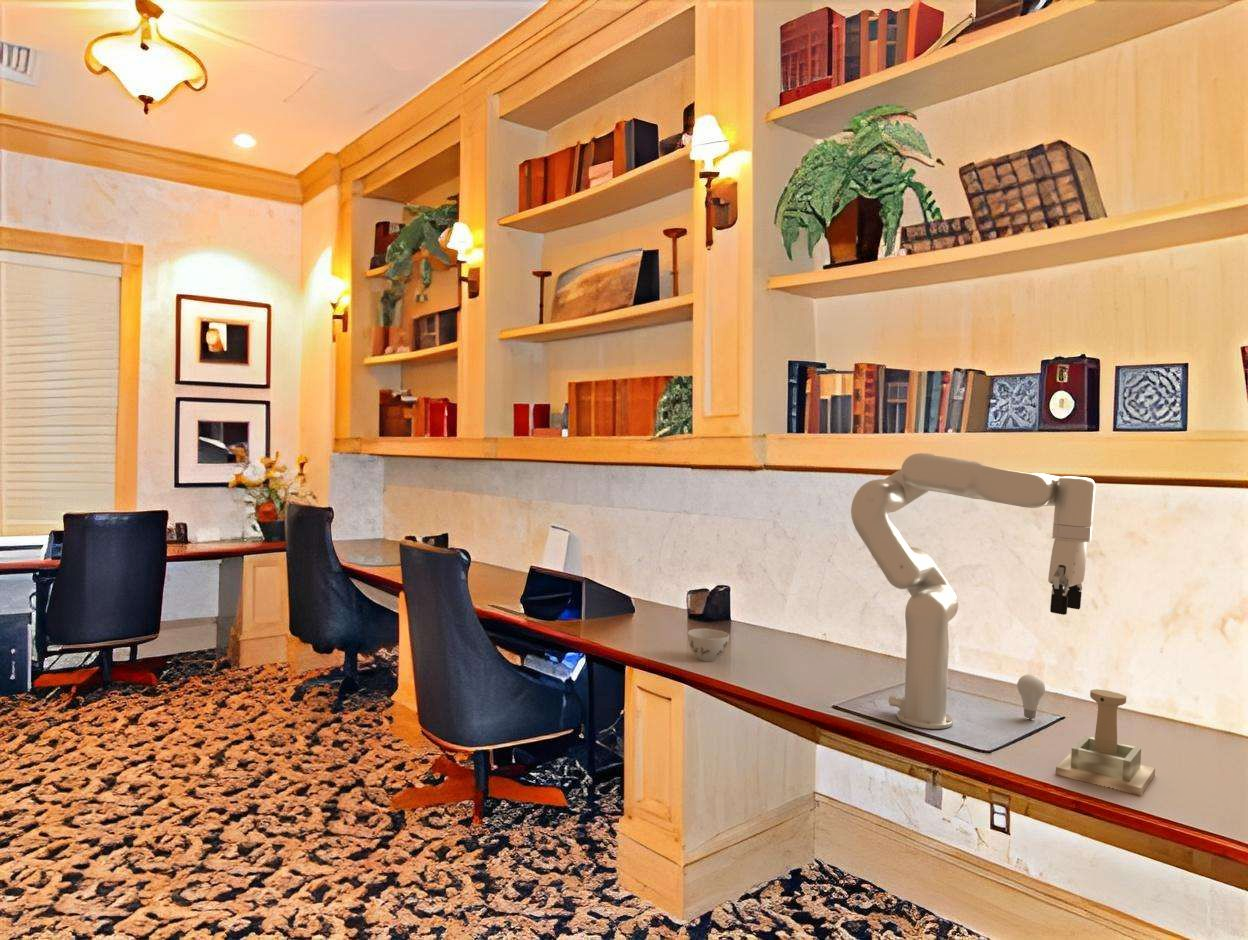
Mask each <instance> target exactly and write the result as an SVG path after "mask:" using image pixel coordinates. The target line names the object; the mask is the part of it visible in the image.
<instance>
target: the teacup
mask: <svg viewBox="0 0 1248 940" xmlns="http://www.w3.org/2000/svg"><path fill="white" fill-rule="evenodd" d="M687 638H688V644H689V646H690V647H689V648H690V650H691V651H692V653H693V654H694V656H695V657H696V658H697V659H698V660H700V661H703V662H715V661H717V660H718V659H719V658H720V657H721V656H723V654H725V651H726V649H727V647H728V645H729V642H730V634H729V633H727V632H726V631H724V630H717V629H712V628H694V629H690V630H688V632H687Z"/></svg>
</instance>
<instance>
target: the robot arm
mask: <svg viewBox="0 0 1248 940" xmlns="http://www.w3.org/2000/svg"><path fill="white" fill-rule="evenodd" d="M928 492H935V493H942V494H947V495H953V496H957V497H963V498H969V499H972V500H982V501H988V502H992V503H997V504H1003V505H1010V506H1013V507H1014V506H1015V507H1021V508H1025V509H1026V508H1027V509H1037V508H1041V507H1054V510H1053V511H1054V512H1053V523H1052V525H1053V526H1052V536H1051V538H1052V539H1054V540H1053V544H1052V550H1051V556H1050V564H1049V568H1048V569H1049V571H1048V577H1047V582H1048V583H1049V584H1051V592H1050V593H1051V595H1050V596H1051V597H1050V606H1049V607H1050V608H1049V609H1050V610H1049V612H1050V613H1052V614H1058V615H1067V613H1068V609H1074V610H1081V604H1082V603H1081V601H1082V595H1083V594H1082V590H1083V585H1082V584H1083V583H1084V579H1085V574H1086V573H1085V572H1086V564H1087V563H1086V561H1087V560H1086V559H1087V543H1091V542H1092V534H1093V533H1092V531H1093V521H1094V520H1093V519H1094V517H1093V516H1094V508H1095V506H1094V505H1095V496H1096V495H1095V494H1096V483H1095V481H1094V480H1093V479H1092V478H1089V477H1082V476H1068V475H1067V476H1066V475H1065V476H1058V475H1052V474H1047V473H1041V472H1034V473H1030V472H1029V473H1028V472H1022V471H1017V470H1009V469H1003V468H998V467H993V466H989V465H986V464H983V463H982V462H978V461H975V460H967V459H961V458H954V457H947V456H940V455H935V454H933V453H924V452H923V453H922V452H921V453H920V452H919V453H913V454H911V455H909V456H907V457H906V458H905V460H903V463H902V464H901V468H899V470H897V471H895V472H893V473H892V474H891V475H889V476H887V477H886V478H884V479H883V478H882V479H872V480H869V481H867V482H866V483H864V484H862V486H860V487H859V489H858V490H857V491H856V493H855V495H854V496H853V499H852V501H851V508H850V515H851V520H852V523H853V527H854V528H855V530H856V532H857V534H858V536H859V537H860V538H861V540H862V542H863V544H864V545H865V546H866V548H867V549H868V551H869V553H870V555H871V556H872V558H873V559H874V561H875V562H876V564H877V566H878V567H879V568H880V570H881V571H882V573H883V575H884V577H885V578H886V580H887V582H888V583H889V584H891V586H893V587H894V588H896V589H900V590H907V592H908V593H909V595H910V597H909V599H908V601H907V603H906V606H905V610H904V611H905V612H904V616H905V618H904V619H905V631H906V634H905V635H906V636H905V637H906V640H905V641H906V643H905V647H906V649H905V671H904V672H905V673H904V674H905V677H904V696H903V697H902V698H901V697H898V696H896V695H889V697H888V704H889V706H891V707H896V708H898V709H899V710H898V711H897V713H896V717H897V720H898V721H900V722H902V723H904V724H906V725H909V726H913V727H917V728H922V729H929V730H930V729H932V730H939V729H940V730H942V729H947V728H950V727H952V726H953V724H954V719H953V717H951V715H949V714H947V702H948V701H947V697H948V678H949V677H948V675H949V673H948V672H949V650H950V649H949V647H950V646H949V640H950V639H949V629H948V628H949V622H950V621H952V619H954V617H955V616H956V615H957V613H958V610H959V600H958V597H957V595H956V593H955V591H954V590H953V588H952V587H951V585H950V584H949V582H948V581H947V579H946V577H945V576H944V575H943V573H942V572H941V570H940V569H939V567H938V566H937V564H936V563H935V562H934V560H933V558H931V556H930V555H929V554H928V553H927V552H925V551H924V550H923V549H921V548H919V547H912V546H910V545H909V544H908V543H907V541H906V540H905V539H904V537H903V536H902V534H901V532H900V530H899V529H898V528H897V527H896V526H895V524H893V523H892V521H891V520H890V519H889V515H888V514H890V513H893V512H897V511H899V510H901V509H903V508H905V507H906V506H907V505H910V504H911V503H913V502H914V501H916V500H917V499H919V498H921V497H922V496H924V495H925V494H927V493H928Z"/></svg>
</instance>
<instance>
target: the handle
mask: <svg viewBox="0 0 1248 940" xmlns="http://www.w3.org/2000/svg"><path fill="white" fill-rule="evenodd" d="M1089 691H1090V693H1089V698H1091V699H1092V700H1093V701H1095V702H1096V703H1097V714H1096V715H1097V716H1096V717H1097V718H1096V725H1095V733H1094V738H1095V752H1099V753H1103V754H1108V755H1112V756H1116V750H1117V743H1118V726H1117V725H1118V708H1119V707H1120V706H1123V705H1125V704H1126V703H1127V695H1125V694H1121V693H1119V692H1115V691H1110V690H1105V689H1097V688H1096V689H1095V688H1094V689H1091V690H1089Z"/></svg>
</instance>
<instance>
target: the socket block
mask: <svg viewBox="0 0 1248 940" xmlns="http://www.w3.org/2000/svg"><path fill="white" fill-rule="evenodd" d="M1141 761H1142V747H1138V746H1134V745H1129V744H1124V743H1120V742H1117V750H1116V756H1112V755H1108V754H1103V753H1099V752H1095V737H1093V736H1088V735H1084V736H1082V737H1081V738H1080V739H1079V741H1077V742H1076V743H1075V744H1074V745H1073V746H1071V752H1070V753H1068V755H1067V756H1065V757H1064V758H1063V760H1062V761H1060V763H1058V764H1057V765H1056V766H1055V775H1058V776H1061V777H1065V778H1069V779H1073V780H1076V781H1081V782H1085V783H1088V784H1092V785H1096V784H1097V785H1096V786H1100V785H1101V786H1100V787H1104V786H1105V787H1104V788H1108V787H1110V788H1109V789H1112V788H1114V789H1113V790H1116V789H1118V790H1117V791H1120V790H1123V791H1122V792H1124V791H1126V792H1125V793H1128V792H1130V793H1129V794H1132V793H1133V795H1136V794H1137V795H1136V796H1140V795H1141V796H1142V795H1143V793H1144V792H1145V791H1146V789H1147V787H1148V786H1149V785H1150V783H1151V782H1152V780H1153V779H1154V777H1155V775H1156V768H1155V767H1152V766H1147V765H1143V764H1141Z"/></svg>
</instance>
